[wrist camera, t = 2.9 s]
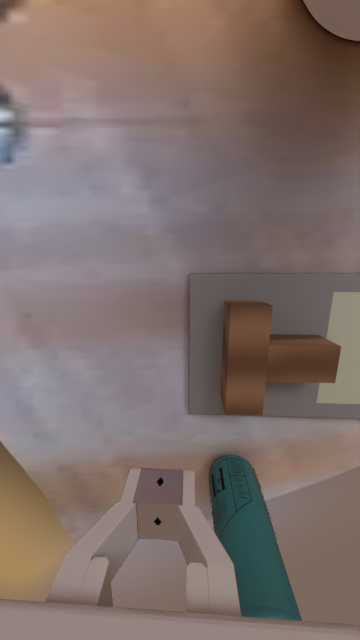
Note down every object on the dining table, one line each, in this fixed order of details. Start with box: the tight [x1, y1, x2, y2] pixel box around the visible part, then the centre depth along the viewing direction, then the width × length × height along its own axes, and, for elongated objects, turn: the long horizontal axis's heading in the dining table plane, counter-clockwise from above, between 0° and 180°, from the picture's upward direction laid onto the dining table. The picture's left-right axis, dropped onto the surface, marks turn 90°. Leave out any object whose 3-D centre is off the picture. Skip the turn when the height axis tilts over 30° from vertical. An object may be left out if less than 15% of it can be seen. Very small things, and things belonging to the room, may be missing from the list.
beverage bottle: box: [208, 455, 302, 621], centre depth 21 cm, size 6×7×20 cm
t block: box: [220, 300, 341, 415], centre depth 24 cm, size 12×11×4 cm
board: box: [189, 273, 360, 419], centre depth 26 cm, size 18×29×1 cm, turn 90°
